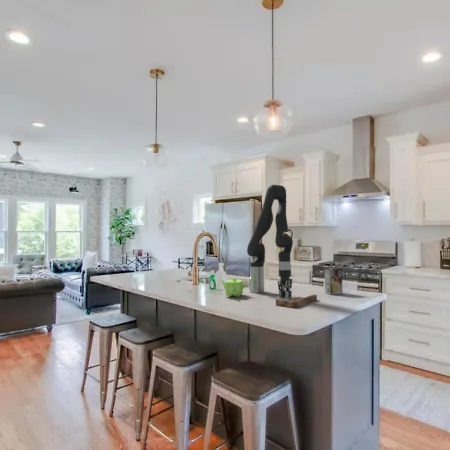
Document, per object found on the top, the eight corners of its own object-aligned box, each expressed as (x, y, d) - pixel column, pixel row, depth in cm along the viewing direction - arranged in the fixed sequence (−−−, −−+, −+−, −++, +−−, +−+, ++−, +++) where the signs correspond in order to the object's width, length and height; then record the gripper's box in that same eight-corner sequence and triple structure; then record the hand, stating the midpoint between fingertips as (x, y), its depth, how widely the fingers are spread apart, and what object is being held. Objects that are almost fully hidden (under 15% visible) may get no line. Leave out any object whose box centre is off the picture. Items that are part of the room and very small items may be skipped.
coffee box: (337, 292, 222) (336, 267, 222) (342, 293, 216) (342, 268, 216) (324, 293, 219) (324, 268, 220) (330, 294, 213) (329, 269, 214)
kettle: (231, 299, 205) (231, 280, 206) (218, 296, 217) (218, 278, 217) (250, 296, 214) (250, 278, 214) (237, 293, 226) (236, 276, 226)
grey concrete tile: (274, 298, 206) (274, 297, 206) (281, 296, 212) (281, 295, 212) (289, 300, 200) (289, 299, 200) (296, 297, 206) (296, 297, 206)
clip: (279, 297, 206) (278, 290, 206) (283, 296, 210) (283, 289, 210) (287, 298, 202) (287, 291, 202) (291, 297, 206) (291, 290, 206)
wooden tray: (275, 305, 186) (275, 299, 186) (298, 297, 206) (298, 292, 206) (295, 308, 178) (295, 302, 179) (316, 299, 198) (316, 294, 198)
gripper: (285, 267, 214) (285, 294, 214) (273, 269, 203) (273, 298, 203) (295, 268, 210) (296, 295, 209) (284, 270, 199) (284, 299, 198)
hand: (285, 296), depth 206 cm, fingers closed on clip, 5 cm apart
